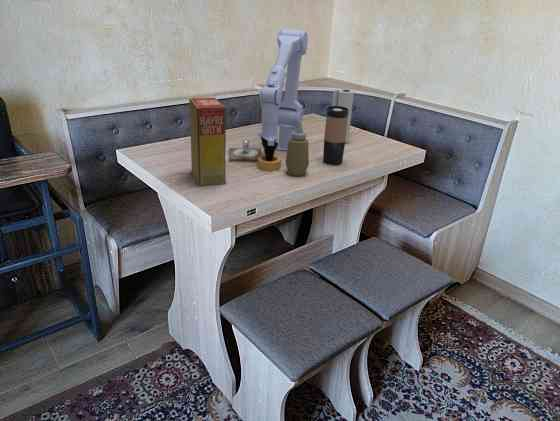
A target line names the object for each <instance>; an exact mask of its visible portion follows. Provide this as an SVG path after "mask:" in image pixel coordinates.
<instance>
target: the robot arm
mask: <svg viewBox="0 0 560 421" xmlns="http://www.w3.org/2000/svg"><path fill="white" fill-rule="evenodd" d="M276 39H277V40H276V41H277V46H278V53H277V57H276V61H275V64H274V66H273V67H271V68H270V70H269V74H268V76H267V79H266V82H265V85H264V86H262V87H261V89H260V91H259V95H258V98H259V103H260V108H261V127H260V129H261V131H260V132H258V133H257V137H260V140H261V144H262V145H261V146H262V147H263V150H264V155H265V157H266V161H272V159H273V156H274V155H275V151H276V150H277V149H278V151H287V149H288V143H289V139H291V138H292V132H294V131H296V127H297V124H298V122H302V123H303V119H304V107H303V105H302V104H301V103H300V102H299V101H298V93H299V92H298V91H299V90H298V89H299V82H300V73H301V64H302V63H301V62H302V57H303V56H304V55H306V54H307V50H308V42H309V37H308V32H307V30H305V29H303V30H301V29H290V28H283V27H281V28H279V30H278V32H277V38H276ZM284 83H285V87H284ZM283 87H284V95H283ZM283 96H284V98H283ZM282 98H283V100H282ZM302 129H303V130H304V127H303V125H302ZM277 138H278V141H277ZM276 141H277V142H276Z"/></svg>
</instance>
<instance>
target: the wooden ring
mask: <svg viewBox="0 0 560 421" xmlns="http://www.w3.org/2000/svg"><path fill="white" fill-rule="evenodd" d="M281 165H282V158H281V157H280V156H278V155H276V154H274V156H273V159H272V161H266V157H265V154H264V155H263V154H262V156H260V157H258V162H257V168H258V169H259V170H261V171H266V172H274V171H278V170H280V169H281Z"/></svg>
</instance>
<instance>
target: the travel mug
mask: <svg viewBox="0 0 560 421" xmlns="http://www.w3.org/2000/svg"><path fill="white" fill-rule="evenodd" d="M347 119H348V108H346V107H342V106H332V105H331V106H328V107H327V108H326V118H325V127H324V139H323V151H322V152H323V155H322V157H323V158H322V162H323V163H324V164H326V165H328V166H340V165H341V164H342V163H343V160H344V152H345V146H346V144H345V139H346V129H347Z"/></svg>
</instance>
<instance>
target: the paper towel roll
mask: <svg viewBox="0 0 560 421" xmlns="http://www.w3.org/2000/svg"><path fill="white" fill-rule="evenodd" d="M332 92H333V94H332V104H331V106H342V107H346V108H348V119H347V129H346V139H345V145H346V144H348V143H349V140H350V130H351V122H352V111H353V103H354V95H355V94H354V93H355V91H354V90H352V89H342V88H341V89H337V90H333V91H332Z"/></svg>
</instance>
